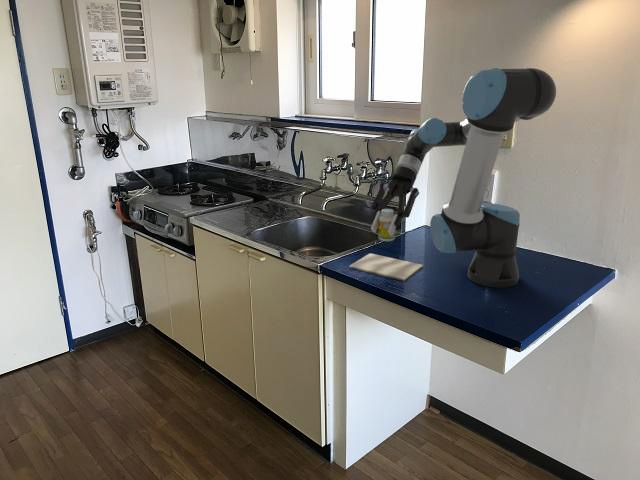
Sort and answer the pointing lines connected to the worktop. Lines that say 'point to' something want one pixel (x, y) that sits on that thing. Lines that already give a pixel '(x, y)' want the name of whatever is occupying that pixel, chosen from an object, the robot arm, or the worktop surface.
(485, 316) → the worktop surface
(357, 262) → the birch board
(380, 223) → the supplement bottle
